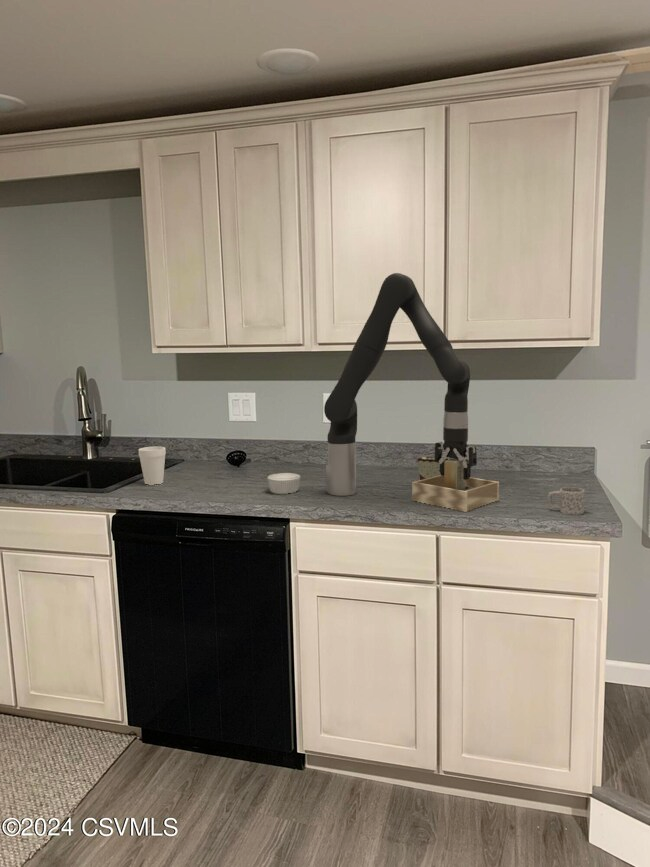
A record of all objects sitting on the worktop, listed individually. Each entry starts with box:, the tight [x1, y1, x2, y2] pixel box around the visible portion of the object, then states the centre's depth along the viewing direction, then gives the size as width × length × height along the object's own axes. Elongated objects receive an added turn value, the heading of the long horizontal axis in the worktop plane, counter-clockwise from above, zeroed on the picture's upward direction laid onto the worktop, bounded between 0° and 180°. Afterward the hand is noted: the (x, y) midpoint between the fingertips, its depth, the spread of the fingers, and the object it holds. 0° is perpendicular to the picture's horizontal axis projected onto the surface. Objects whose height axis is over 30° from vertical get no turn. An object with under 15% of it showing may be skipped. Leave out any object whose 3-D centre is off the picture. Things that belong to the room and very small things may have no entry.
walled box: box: [411, 475, 500, 513], centre depth 211 cm, size 20×18×6 cm
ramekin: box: [267, 472, 301, 495], centre depth 229 cm, size 11×11×5 cm
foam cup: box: [138, 445, 167, 485], centre depth 244 cm, size 10×9×13 cm
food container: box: [415, 454, 441, 481], centre depth 233 cm, size 12×6×10 cm, turn 48°
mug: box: [547, 486, 586, 516], centre depth 196 cm, size 10×7×7 cm
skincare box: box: [444, 458, 466, 490], centre depth 210 cm, size 6×4×12 cm
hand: (454, 477), depth 210 cm, fingers open, 8 cm apart
